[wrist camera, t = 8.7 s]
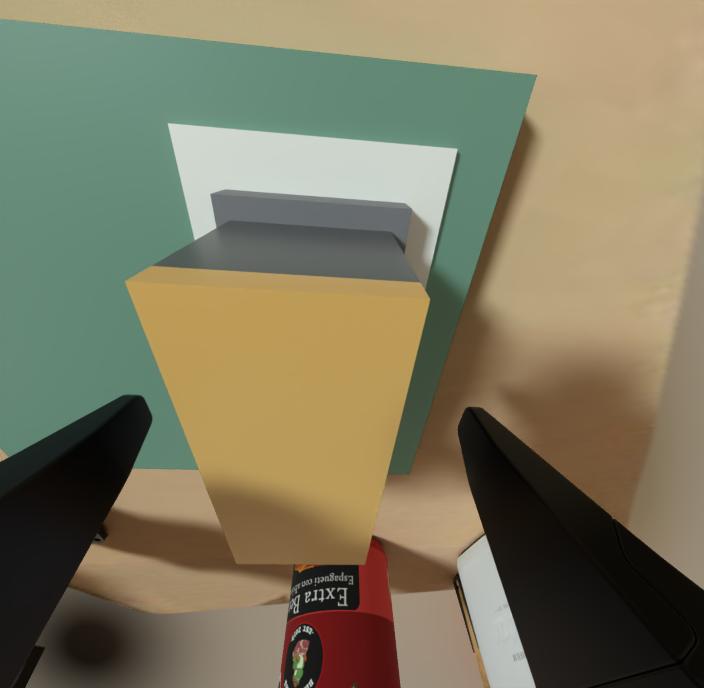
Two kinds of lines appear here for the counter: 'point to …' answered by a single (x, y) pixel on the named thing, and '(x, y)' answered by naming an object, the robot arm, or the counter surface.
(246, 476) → the yellow and grey block
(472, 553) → the photo printer
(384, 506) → the counter surface
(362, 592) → the canned food
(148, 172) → the board
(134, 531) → the counter surface
